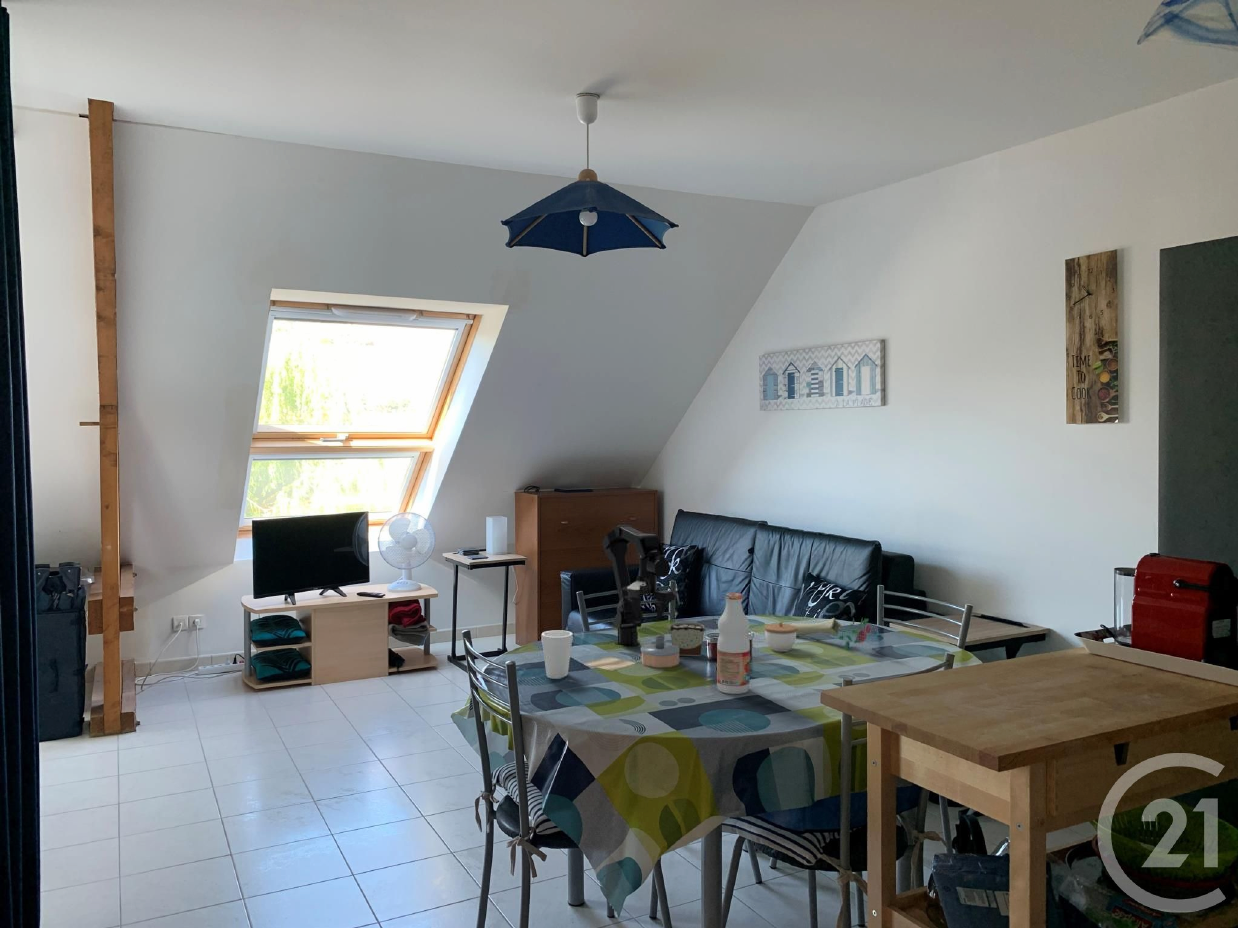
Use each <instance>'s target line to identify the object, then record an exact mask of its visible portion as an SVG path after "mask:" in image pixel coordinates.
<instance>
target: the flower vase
mask: <svg viewBox="0 0 1238 928" xmlns="http://www.w3.org/2000/svg"><path fill="white" fill-rule="evenodd" d="M860 621H861V622H860V623H859V624H858V625H856V626H855V627H853V626H854V625H855V619H854V618H852V623H850V625H848V626H846V627H845V629H844V630H843V629H841V628H842V625H841V623H840V622H839V621H838V620H837V619H836V618H835V617H833V618H831V619H830V618H829V619H827V620H824V621H820V622H816V623H815V622H814V623H810V622H792V623H790V624H789V625H793V626H795V627H796V628H797V631H796V637H797V636H804V635H806V636H807V635H812V634H827V635H828V634H829V635H833V636H837V637H838V636H839V633H840V632H842V633H849V634H854V635H856V636H855V639H854V642H853V639H852V637H851V636H850V635H849V634H848V635H845V636H846V638H847V639H848V640H847V639H846V638H845V637H844V634H842V635H840V636H839V637H838V639H839V640H844V642H845V645H844V650H845V651H848V649H849V647H850V642H851V643H852V642H853V644H862V643H864V642H865V641H866V640H867V637H868V635H869V634H871V632H872V626H871V624H867V623H868V622H869V618H864V620H863V619H861V620H860ZM862 625H865V626H864V628H862ZM849 626H850V627H849ZM858 626H859V627H858ZM848 627H849V628H850V629H847V628H848ZM856 627H858V628H856Z"/></svg>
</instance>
